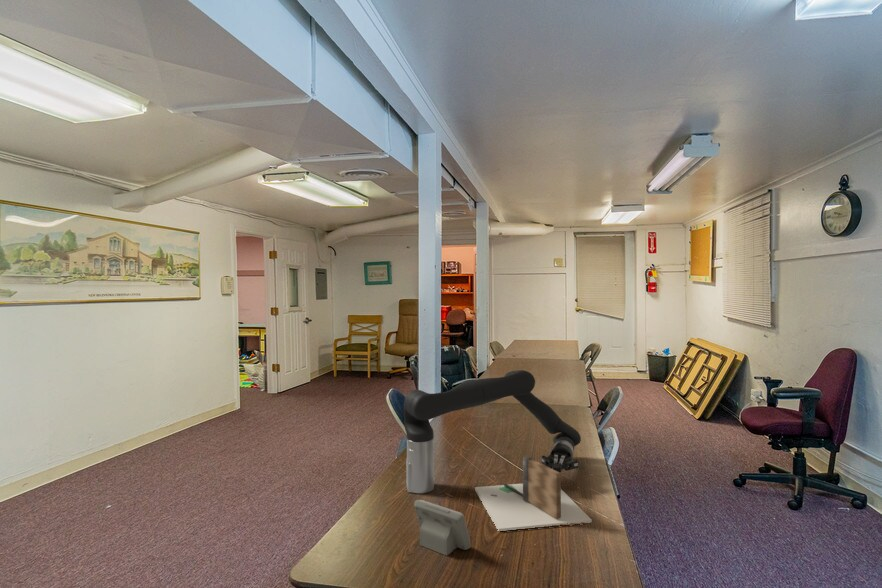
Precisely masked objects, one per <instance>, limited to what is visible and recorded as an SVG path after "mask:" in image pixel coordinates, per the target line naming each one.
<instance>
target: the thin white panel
mask: <svg viewBox="0 0 882 588" xmlns="http://www.w3.org/2000/svg"><path fill="white" fill-rule="evenodd" d="M508 485H509V486H510V487H512V488H514V489H515V490H517V491H519V492H520V493H522V494H523V483H513V484H511V483H509V484H508ZM474 491H475V493H476V494H477V496H478V498H479V500H480V502H481V501H482V502H481V503H482V505H483V507H484V509H485V511H486V510H487V511H486V512H487V514H488V516H489V517H491V518H490V519H491V521H492V523H493V522H494V523H493V525H494V524H495V525H494V526H496V527H495V528H496V530H497V529H498V530H497V532H498V531H506V530H516V529H525V528H535V527H544V526H552V525H560V524H567V523H568V524H570V523H581V522H592V523H593V521H592V518H590V516H589V515H588V514H587V513H585V511H584V510H583V509H582V508H581V507H579V505H577V504H576V502H575V501H573V500H572V498H571V497H570V496H569V495H568V494H567V493H566V492H565V491H564V490H562V488H561V518H558V519H556V518H555V517H553V516H551V515H550V514H548V513H546V512H545V511H543V510H542V509H540V508H538V507H537V506H535V505H533V504H532V503H530V502H528V501H524V500H523V497H522V496H520V495H518V494H517V493H515V492H513V491H512V490H510V489H509V488H507V487H505V486H504V484H500V485H499V484H498V485H486V486H476V487H474Z"/></svg>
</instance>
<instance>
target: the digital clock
mask: <svg viewBox="0 0 882 588" xmlns="http://www.w3.org/2000/svg"><path fill="white" fill-rule="evenodd" d="M414 509H415V514H416V517H417V521H418V522H417V523H418V525H419V545H420V546H421V547H424V548H426V549H428V550H431V551H434V552H437V554H438V553H439V554H441V555H444V556H447V557H448V556H449V555H450V554H451V553H452V552H454V551H455V550H456V549H457V548H459V549H461V550H466V551H467V550H469V549H471V547H472V544H471V538H470V535H469V531H468V527H467V523H466V519H465V515H464V513H463V512H460V511H457V510H455V509H451V508H447V507H444V506H441V505H438V504H436V503H433V502H430V501H426V500H423V499H416V500H415V501H414ZM454 549H455V550H454ZM453 550H454V551H453Z"/></svg>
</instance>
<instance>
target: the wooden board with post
mask: <svg viewBox="0 0 882 588" xmlns="http://www.w3.org/2000/svg"><path fill="white" fill-rule="evenodd" d="M561 473H562V472H561ZM561 473H560V472H557V471H555V470H553V469H551V468H549V467H547V466H545V465H544V464H542V462H541V463H540V462H539V461H536V460H535V459H533V458H532V457H530V456H523V457H522V484H523V494H522V493H520V492H519V491H517V490H515V489H514V488H512V487H510V486H509V485H510V484H507V483H504V484H503V485H504V486H505V487H507V488H509V489H510V490H512V491H513V492H515V493H517V494H518V495H520V496H522V497H523V500H524V501H528V502H530V503H532V504H533V505H535V506H537V507H538V508H540V509H542V510H543V511H545V512H546V513H548V514H550V515H551V516H553V517H555V518H556V519H558V518H561V489H562V487H561V486H562V482H561V481H562V480H561V479H562V478H561V476H562V474H561Z"/></svg>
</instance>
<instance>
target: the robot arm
mask: <svg viewBox="0 0 882 588" xmlns="http://www.w3.org/2000/svg"><path fill="white" fill-rule="evenodd" d="M535 386H536V379H535V377H534V375H533V374H532V373H531V372H530V371H527V370H523V369H519V370H512V371H508V372H507V373H505V375H503V376H501V377H500V376H499V377H488V378H477V379H473V380H469V381H464V382H461V383H459V384H457V385H455V386H454V387H453V388H452V389H449V390H447V391H443V392H435V393H428V392H426V391H424V390H420V389H413V390H411V391H409V392H408V393H407V395H405V398H404V401H403V420H404V421H403V423H404V429H405V435H406V459H405V462H406V464H405V468H406V469H405V470H406V471H405V472H406V473H405V474H406V477H405V478H406V479H405V480H406V485H405V486H406V489H407V492H408V493H414V494H427V493H429V492H431V491H434V488H435V461H434V460H435V458H434V457H435V456H434V455H435V454H434V453H435V452H434V451H435V449H434V448H435V447H434V445H435V443H434V441H435V439H434V438H435V437H434V429H433V427H432V425H431V423H430V420H432V419H434V418H437V417H440V416H442V415H446V414H449V413H451V412H456V411H461V410H465V409H469V408H475V407H479V406H482V405H485V404H486V405H487V404H488V403H492V402H495V401H499V400H501V399H503V398H506V397H512V398H514V399H516V400H517V401H518V402H519V403H520V404H522V406H523V407H525V409H527V410H528V411H529V413H531V414H532V416H534V417H535V418H536V419H537V421H538V422H539V423H540V424H541V426H543V427H544V429H545V430H546V431H547V432H548V433H549V434H550V435H554V437H553V438H552V442H553V446H552V449H551V451H550V454H549V455H548V456H545V455H541V464H543V465H545V466H547V467H549V468H551V469H553V470H555V471H557V472H560V473H562V471H563V470H564V471H566V472H567V471H572V470H574V469H578V468H579V460H578V459H573V458H574V450H575V447H576V446H578V445H579V444H581V441H582V438H581V435H580V433H579V431H577V430H576V429H575V428H574V427H573V426H571V425H569V424H568V423H567V422H565V421H563V420H562V419H561V418H560V416H559V415H558V414H557V412H556V411H554V410H553V408H551V407H550V406H549V405H548V404H546V403H545V402H544V401H542V400H541V399H539V398H538V397H537V396H536V395H535V394H533V393H532V391H533V390H534V388H535Z"/></svg>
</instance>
